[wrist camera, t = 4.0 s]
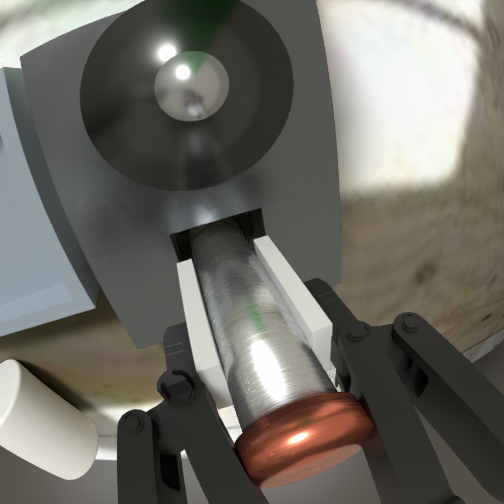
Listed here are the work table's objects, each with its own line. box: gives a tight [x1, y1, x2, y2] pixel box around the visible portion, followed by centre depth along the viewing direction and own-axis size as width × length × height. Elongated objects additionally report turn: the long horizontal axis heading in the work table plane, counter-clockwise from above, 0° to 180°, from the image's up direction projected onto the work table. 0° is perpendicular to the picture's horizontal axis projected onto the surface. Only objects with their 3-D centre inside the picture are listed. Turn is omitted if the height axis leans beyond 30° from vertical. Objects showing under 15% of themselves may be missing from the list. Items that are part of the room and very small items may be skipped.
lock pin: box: [188, 216, 373, 488], centre depth 13 cm, size 4×4×14 cm
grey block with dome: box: [20, 0, 341, 349], centre depth 13 cm, size 14×18×7 cm
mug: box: [0, 359, 98, 480], centre depth 18 cm, size 12×10×8 cm
